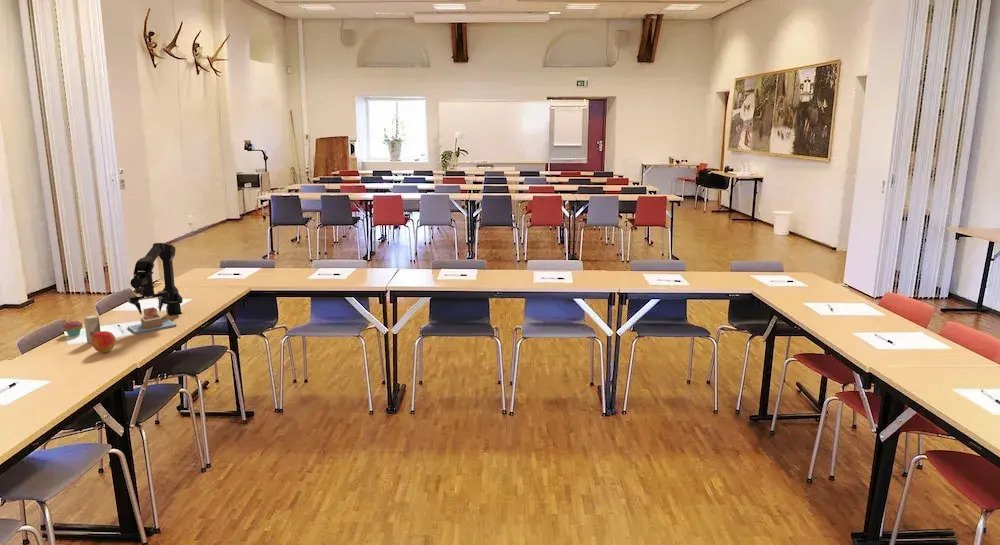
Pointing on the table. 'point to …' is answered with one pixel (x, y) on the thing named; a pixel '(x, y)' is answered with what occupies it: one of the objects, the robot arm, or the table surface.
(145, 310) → the terracotta block
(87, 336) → the box
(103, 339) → the apple
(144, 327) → the blueprint board
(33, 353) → the table surface
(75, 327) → the cupcake
